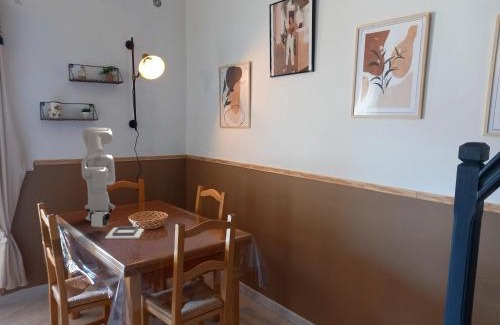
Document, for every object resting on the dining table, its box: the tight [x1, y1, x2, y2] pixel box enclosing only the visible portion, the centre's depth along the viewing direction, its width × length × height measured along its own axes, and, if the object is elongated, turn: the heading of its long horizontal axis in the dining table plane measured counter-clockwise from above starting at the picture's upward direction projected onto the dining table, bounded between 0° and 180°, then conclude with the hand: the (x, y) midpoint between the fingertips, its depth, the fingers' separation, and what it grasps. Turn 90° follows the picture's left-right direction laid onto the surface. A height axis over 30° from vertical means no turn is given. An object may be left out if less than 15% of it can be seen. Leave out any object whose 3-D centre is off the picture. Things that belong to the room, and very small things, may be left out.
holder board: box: [104, 226, 145, 240], centre depth 197 cm, size 18×18×2 cm
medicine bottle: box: [90, 211, 110, 228], centre depth 199 cm, size 7×7×12 cm
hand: (100, 219), depth 199 cm, fingers closed on medicine bottle, 8 cm apart
